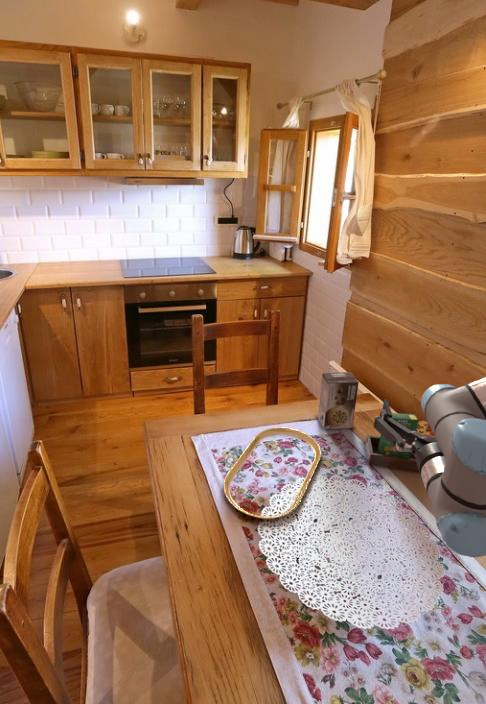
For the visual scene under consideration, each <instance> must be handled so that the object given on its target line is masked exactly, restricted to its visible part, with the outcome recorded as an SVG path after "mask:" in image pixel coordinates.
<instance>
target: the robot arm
mask: <svg viewBox="0 0 486 704" xmlns="http://www.w3.org/2000/svg"><path fill="white" fill-rule="evenodd" d="M420 405H421V409H422V412H423V415H424V419H425V421H426V423H427V424H428V425H429V427H430V429H431V431H432V433H433V434H434V436H430V435H426V434H421V433H419V432H418V431H411V430H409V429H408V428H406V427H405V426H403V425H401V424H400V423H398V422H397V421H395V420H393V419H392V413H393V412H392V409H391V406H390V403H389V400H388V399H383V404H382V408H381V409H380V413H379V415H376V416H374V421H373V428H374V429H375V430H376V431H377V433H379V434H380V436H381V435H382V436H383V437H384V438H385V439H386V440H387V441H388V442H389V443H390V444H391V445H392V446H393V447H394V449H395V451H396V453H397V454H399V455H402V454H403V451H404V452H411V453H412V454H413V455H414V456H415V458H416V462H417V465H418V468H419V471H420V472H419V474H420V476H421V479H422V483H423V485H424V488H425V491H426V494H427V497H428V499H429V503H430V506H431V508H432V511H433V515H434V518H435V521H436V527H437V529H438V530H439V532H440V534H441V537H442V540H443V541H444V543H445V545H446V546H447V547H448V549H450V550H451V551H452V552H454V553H456V554H458V555H460V556H464V557H468V558H481V557H485V556H486V376H485V377H483V378H480V379H477V380H475V381H473V382H470V383H468V384H465V385H462V386H459V387H455V386H454V385H453V384H448V383H437V384H434V385H432V386H430V387H428V388H427V389H426V390H425V391H424V392H423V394H422V396H421V400H420Z"/></svg>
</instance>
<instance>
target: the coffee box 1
mask: <svg viewBox="0 0 486 704" xmlns="http://www.w3.org/2000/svg"><path fill="white" fill-rule="evenodd" d="M359 383H360V382H359V381H358V380H357V378H356V377H355V375H354V374H353V372H351V371H347V372H346V371H345V372H344V371H343V372H322V375H321V383H320V393H319V401H318V412H317V419H318V421H319V423H320V425H321V427H322V429H324V430H331V429H332V430H333V429H353V427H354V419H355V411H356V405H357V396H358V391H359V390H358V389H359Z"/></svg>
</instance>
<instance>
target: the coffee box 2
mask: <svg viewBox="0 0 486 704" xmlns="http://www.w3.org/2000/svg"><path fill="white" fill-rule="evenodd" d="M391 413H392V419H393V420H395V421H397V422H398V423H400V424H401V425H403V426H405V427H406V428H408V429H409V430H411V431H416V432H418V431H417V430H418V426H419V423H420V419H419V418H418V417H417V415H416V414H415V413H410V414H409V413H397V412H396V413H393V412H391ZM379 437H380V441H379V446H378V451H377V454H383V455H390V456H397V457H403V458H410V455H411V452H404V451H403V454H402V455H399V454H397V453H396V451H395V449H394V447H393V446H392V445H391V444H390V443H389V442H388V441H387V440H386V439H385V438H384V437H383V436H382V435H381V434H380V435H379Z"/></svg>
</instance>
